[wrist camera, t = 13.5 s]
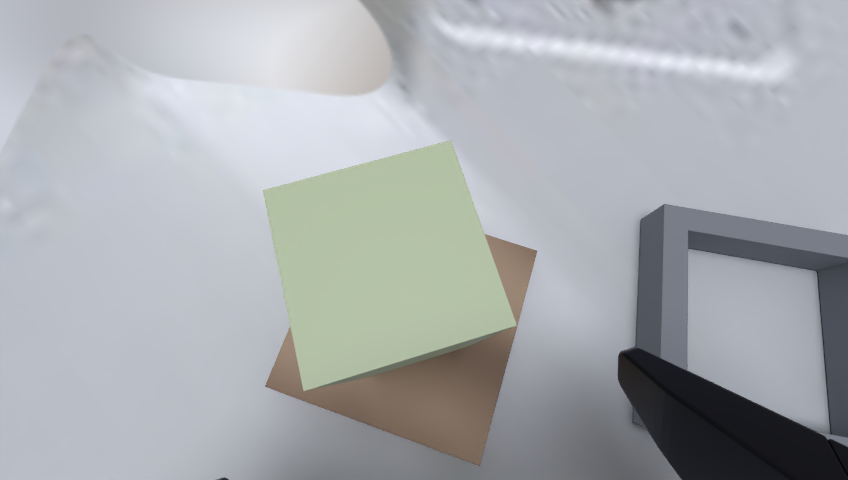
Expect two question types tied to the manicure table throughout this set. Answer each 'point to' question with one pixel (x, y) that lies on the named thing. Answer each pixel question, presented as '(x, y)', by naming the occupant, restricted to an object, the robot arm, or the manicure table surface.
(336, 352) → the olive block
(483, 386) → the walnut pad
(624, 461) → the manicure table surface
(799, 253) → the gray square frame
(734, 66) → the manicure table surface
